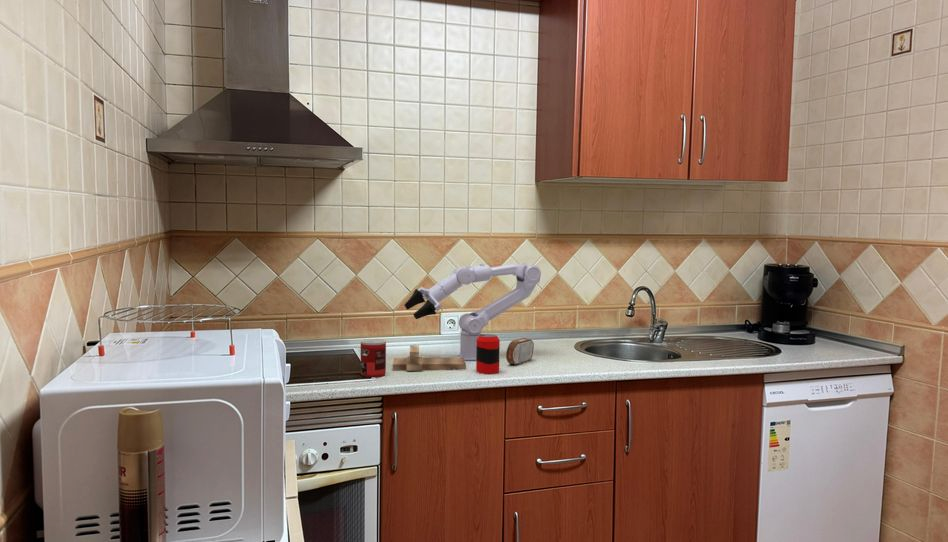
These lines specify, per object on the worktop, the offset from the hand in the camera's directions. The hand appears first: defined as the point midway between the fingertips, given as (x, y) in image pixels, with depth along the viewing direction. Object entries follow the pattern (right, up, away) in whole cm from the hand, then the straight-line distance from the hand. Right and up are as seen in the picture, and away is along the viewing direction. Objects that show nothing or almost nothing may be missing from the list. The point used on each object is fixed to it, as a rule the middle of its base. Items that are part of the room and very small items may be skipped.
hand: (410, 312), depth 224 cm
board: (+7, -18, -6) cm, 20 cm away
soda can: (+27, -19, -12) cm, 35 cm away
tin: (+38, -18, +2) cm, 43 cm away
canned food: (-10, -19, -19) cm, 28 cm away
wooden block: (+2, -18, -8) cm, 20 cm away
